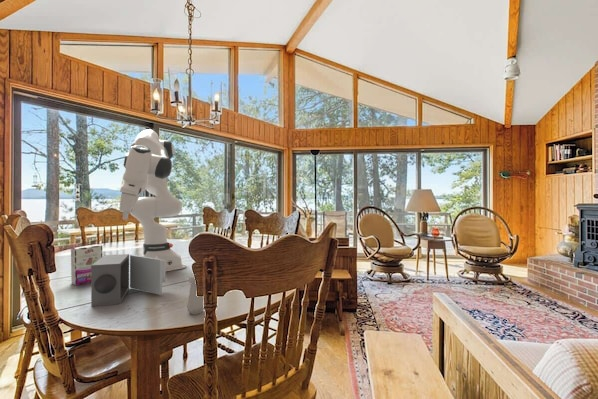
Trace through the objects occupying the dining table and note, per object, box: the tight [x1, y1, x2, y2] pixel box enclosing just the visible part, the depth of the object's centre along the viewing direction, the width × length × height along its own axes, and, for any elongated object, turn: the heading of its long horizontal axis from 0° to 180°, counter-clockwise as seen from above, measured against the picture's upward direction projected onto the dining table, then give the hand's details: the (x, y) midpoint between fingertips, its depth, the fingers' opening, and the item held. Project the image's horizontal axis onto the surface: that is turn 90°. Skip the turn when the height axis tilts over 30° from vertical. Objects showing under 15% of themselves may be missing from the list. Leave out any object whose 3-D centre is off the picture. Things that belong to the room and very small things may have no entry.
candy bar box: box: [70, 243, 103, 286], centre depth 136 cm, size 11×5×16 cm, turn 148°
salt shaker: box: [186, 274, 204, 316], centre depth 103 cm, size 6×6×13 cm
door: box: [129, 254, 166, 295], centre depth 125 cm, size 18×5×14 cm, turn 65°
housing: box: [90, 253, 130, 308], centre depth 116 cm, size 20×9×15 cm, turn 20°
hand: (127, 215), depth 126 cm, fingers open, 8 cm apart
